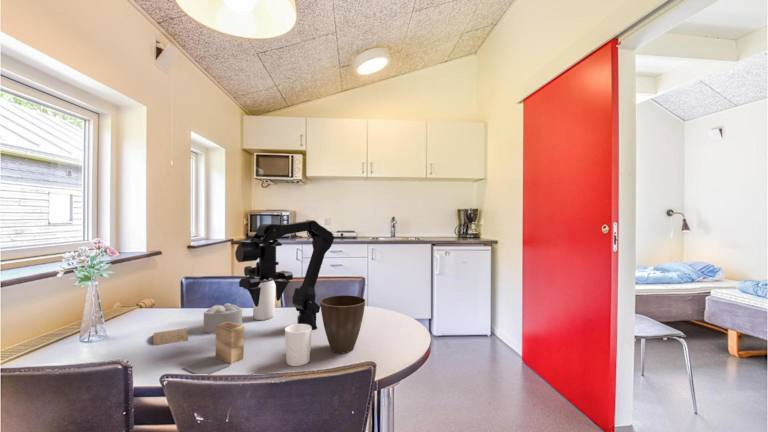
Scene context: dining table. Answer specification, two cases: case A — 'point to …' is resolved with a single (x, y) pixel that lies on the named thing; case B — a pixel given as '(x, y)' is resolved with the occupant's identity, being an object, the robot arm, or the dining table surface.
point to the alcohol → (265, 302)
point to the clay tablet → (170, 337)
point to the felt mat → (206, 366)
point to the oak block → (230, 342)
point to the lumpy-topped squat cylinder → (221, 316)
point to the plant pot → (342, 321)
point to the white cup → (298, 344)
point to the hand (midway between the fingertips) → (267, 303)
